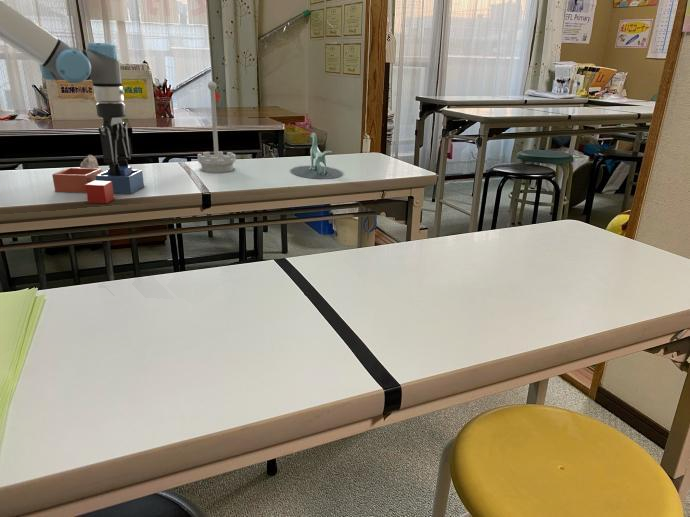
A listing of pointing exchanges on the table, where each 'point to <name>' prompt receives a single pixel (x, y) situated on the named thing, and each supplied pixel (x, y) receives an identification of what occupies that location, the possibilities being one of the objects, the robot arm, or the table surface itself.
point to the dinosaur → (316, 165)
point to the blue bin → (124, 182)
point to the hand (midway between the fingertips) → (121, 183)
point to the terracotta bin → (74, 179)
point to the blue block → (124, 171)
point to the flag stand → (215, 143)
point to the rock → (90, 163)
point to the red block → (99, 191)
